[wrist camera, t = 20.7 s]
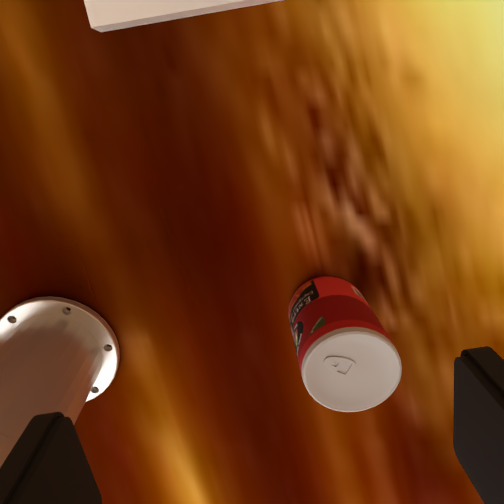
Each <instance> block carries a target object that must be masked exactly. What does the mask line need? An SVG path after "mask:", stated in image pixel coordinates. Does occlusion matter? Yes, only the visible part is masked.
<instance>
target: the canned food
mask: <svg viewBox="0 0 504 504" xmlns="http://www.w3.org/2000/svg"><path fill="white" fill-rule="evenodd" d="M288 313H289V321H290V325H291V330H292V335H293V339H294V344H295V348H296V353H297V358H298V362H299V367H300V370H301V374H302V378H303V381H304V384H305V386H306V389H307V390H308V392H309V394H310V395H311V396H312V397H313V398H314V399H315V400H316V401H317V402H318V403H320V404H321V405H323V406H325V407H327V408H329V409H333V410H336V411H342V412H357V411H362V410H367V409H369V408H372V407H375V406H376V405H378V404H380V403H382V402H383V401H384V400H386V399H387V398H388V397H389V396H390V395H391V394H392V393H393V392H394V390H395V389H396V387H397V385H398V383H399V381H400V378H401V372H402V365H401V360H400V357H399V355H398V352H397V350H396V348H395V346H394V345H393V343H392V341H391V339H390V338H389V336H388V335H387V333H386V331H385V330H384V328H383V327H382V325H381V323H380V322H379V320H378V319H377V317H376V316H375V314H374V312H373V311H372V309H371V308H370V306H369V305H368V303H367V301H366V300H365V298H364V297H363V295H362V294H361V292H360V291H359V290H358V289H357V288H356V287H355V286H354V285H353V284H351V283H349V282H347V281H346V280H343V279H341V278H338V277H332V276H321V277H317V278H313V279H311V280H309V281H307V282H305V283H304V284H302V285H301V286H300V287H299V288H298V289H297V290H296V292H295V293H294V295H293V297H292V299H291V302H290V304H289V310H288Z"/></svg>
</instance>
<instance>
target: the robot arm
mask: <svg viewBox="0 0 504 504" xmlns="http://www.w3.org/2000/svg"><path fill="white" fill-rule="evenodd" d="M119 361H120V349H119V345H118V341H117V338H116V336H115V334H114V332H113V330H112V329H111V327H110V326H109V325H108V323H107V322H106V321H105V320H104V319H103V318H102V317H101V316H100V315H99V314H98V313H97V312H95V311H94V310H92V309H90V308H89V307H87V306H86V305H83V304H81V303H79V302H77V301H74V300H70V299H66V298H62V297H52V296H48V297H37V298H33V299H29V300H26V301H24V302H22V303H20V304H18V305H16V306H15V307H13V308H12V309H11V310H9V311H8V312H7V313H6V314H5V315H4V316H3V317H2V318H1V319H0V504H102V499H101V495H100V492H99V489H98V487H97V484H96V482H95V479H94V477H93V474H92V471H91V469H90V466H89V464H88V461H87V459H86V456H85V453H84V451H83V448H82V446H81V443H80V441H79V438H78V435H77V433H76V430H75V428H74V424H75V422H76V420H77V418H78V416H79V414H80V412H81V410H82V408H83V405H84V403H85V402H87V401H89V400H91V399H94V398H95V397H97V396H98V395H100V394H101V393H103V392H104V391H105V390H106V389H107V388H108V386H109V385H110V384H111V382H112V380H113V379H114V377H115V375H116V372H117V370H118V366H119ZM453 444H454V450H455V453H456V456H457V458H458V460H459V462H460V464H461V465H462V467H463V469H464V470H465V472H466V474H467V475H468V477H469V479H470V480H471V482H472V484H473V485H474V487H475V489H476V490H477V492H478V493H479V495H480V497H481V498H482V500H483V502H484V503H485V504H504V360H503V359H502V358H501V357H500V356H499V355H498V354H497V353H496V352H495V351H494V350H493V349H492V348H490V347H487V346H486V347H479V348H473V349H466V350H463V351H462V352H461V357H457V358H455V361H454V433H453Z"/></svg>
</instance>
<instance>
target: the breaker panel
mask: <svg viewBox="0 0 504 504" xmlns="http://www.w3.org/2000/svg"><path fill="white" fill-rule="evenodd" d="M276 1H282V0H84V3H85V6H86V10H87V14H88V18H89V22H90V25H91V28H93V29H95V30H97V31H99V32H106V31H111V30H117V29H123V28H128V27H134V26H140V25H146V24H151V23H157V22H163V21H168V20H174V19H180V18H185V17H191V16H197V15H202V14H208V13H214V12H220V11H225V10H231V9H237V8H242V7H248V6H254V5H259V4H265V3H271V2H276Z"/></svg>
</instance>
